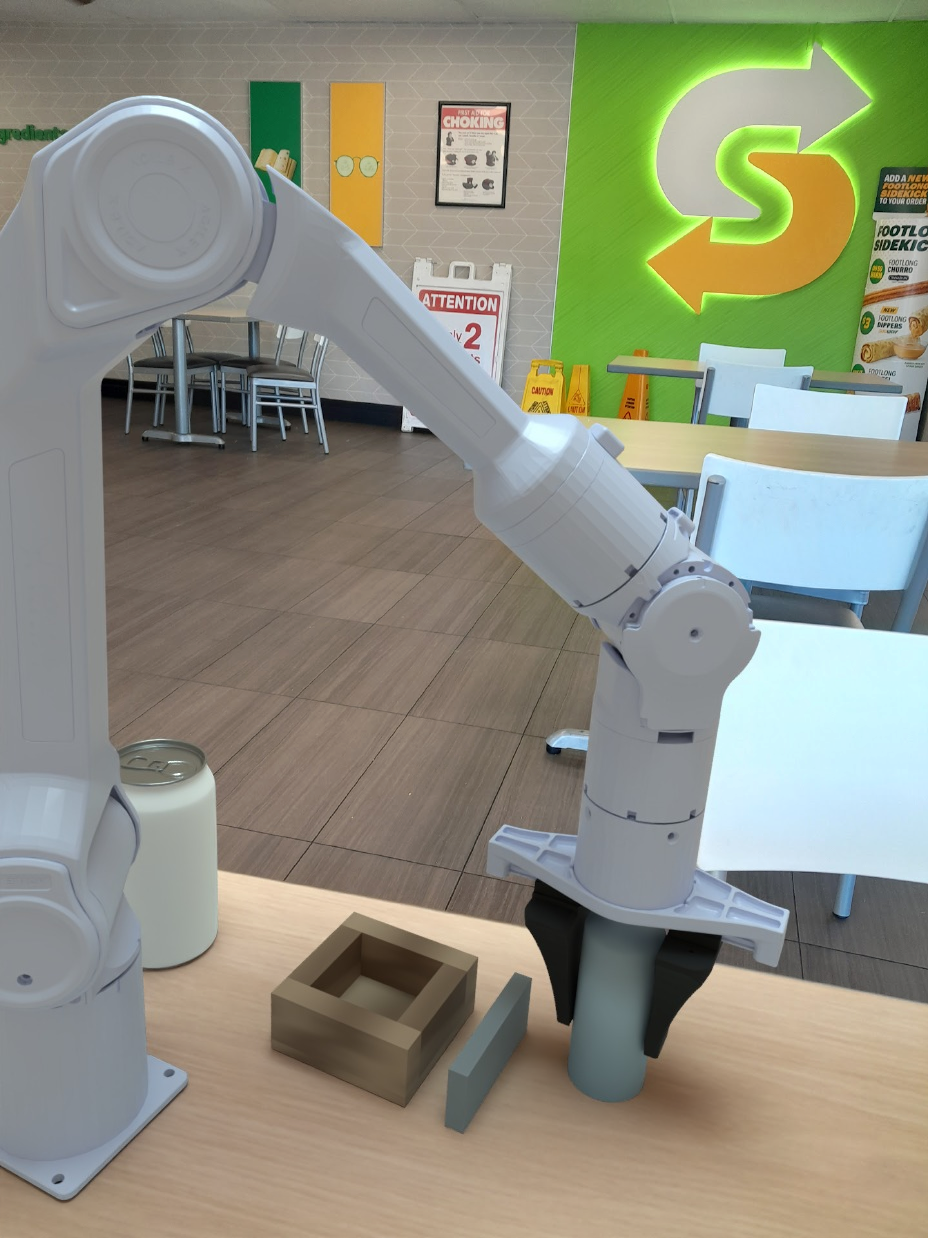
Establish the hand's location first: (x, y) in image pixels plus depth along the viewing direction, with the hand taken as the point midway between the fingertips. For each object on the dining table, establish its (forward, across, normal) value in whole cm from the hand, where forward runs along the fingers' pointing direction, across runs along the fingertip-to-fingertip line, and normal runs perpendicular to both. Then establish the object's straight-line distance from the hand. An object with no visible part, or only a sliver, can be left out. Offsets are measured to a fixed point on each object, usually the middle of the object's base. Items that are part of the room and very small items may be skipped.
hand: (611, 1028), depth 51 cm
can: (+3, +27, +3) cm, 27 cm away
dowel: (+3, 0, 0) cm, 3 cm away
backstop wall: (+3, +5, +3) cm, 7 cm away
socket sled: (+3, +12, +3) cm, 13 cm away
